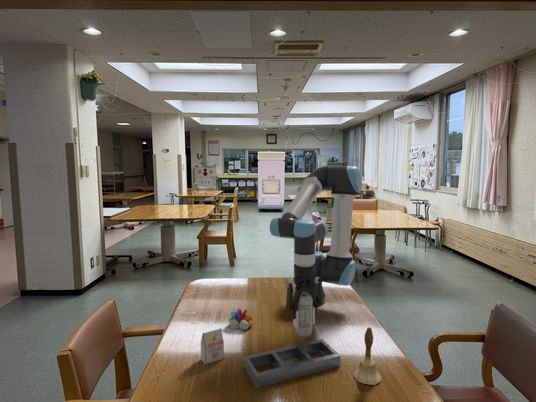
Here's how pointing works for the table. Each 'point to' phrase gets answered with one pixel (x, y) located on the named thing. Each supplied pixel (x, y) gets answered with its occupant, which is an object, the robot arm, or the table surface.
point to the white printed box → (212, 346)
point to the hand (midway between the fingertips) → (304, 324)
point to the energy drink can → (305, 315)
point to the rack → (290, 362)
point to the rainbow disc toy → (240, 320)
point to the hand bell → (367, 363)
